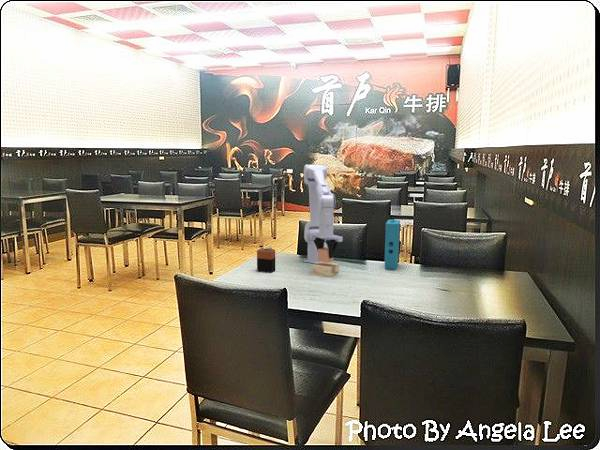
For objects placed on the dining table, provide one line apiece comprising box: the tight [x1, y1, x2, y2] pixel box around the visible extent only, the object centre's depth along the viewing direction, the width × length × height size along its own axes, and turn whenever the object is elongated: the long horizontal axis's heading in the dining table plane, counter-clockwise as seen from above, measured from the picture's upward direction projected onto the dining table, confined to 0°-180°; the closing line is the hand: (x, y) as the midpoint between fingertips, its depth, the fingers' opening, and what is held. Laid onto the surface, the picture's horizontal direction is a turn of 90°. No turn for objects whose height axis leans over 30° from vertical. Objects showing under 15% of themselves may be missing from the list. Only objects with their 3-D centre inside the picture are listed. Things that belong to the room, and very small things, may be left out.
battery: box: [256, 246, 276, 273], centre depth 186 cm, size 4×7×10 cm, turn 68°
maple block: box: [311, 262, 340, 278], centre depth 183 cm, size 8×8×4 cm
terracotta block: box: [318, 247, 334, 263], centre depth 181 cm, size 4×4×5 cm
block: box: [384, 219, 401, 271], centre depth 192 cm, size 12×5×20 cm, turn 163°
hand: (325, 257), depth 182 cm, fingers closed on terracotta block, 4 cm apart
